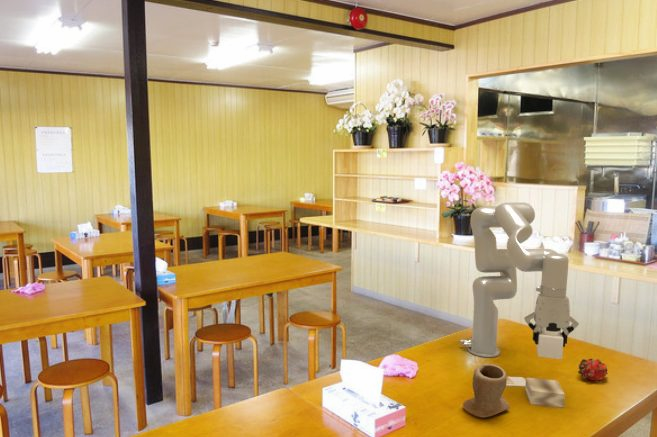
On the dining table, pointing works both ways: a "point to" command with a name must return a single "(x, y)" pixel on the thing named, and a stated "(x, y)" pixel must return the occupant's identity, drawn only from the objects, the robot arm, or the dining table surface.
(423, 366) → the dining table surface
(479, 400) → the stone cup
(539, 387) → the base block
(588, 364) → the dragon fruit
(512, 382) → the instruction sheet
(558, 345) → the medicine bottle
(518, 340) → the dining table surface
